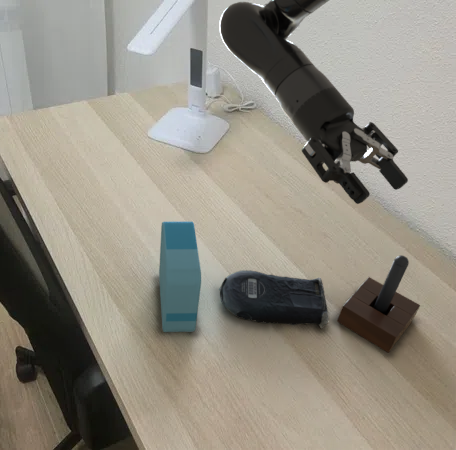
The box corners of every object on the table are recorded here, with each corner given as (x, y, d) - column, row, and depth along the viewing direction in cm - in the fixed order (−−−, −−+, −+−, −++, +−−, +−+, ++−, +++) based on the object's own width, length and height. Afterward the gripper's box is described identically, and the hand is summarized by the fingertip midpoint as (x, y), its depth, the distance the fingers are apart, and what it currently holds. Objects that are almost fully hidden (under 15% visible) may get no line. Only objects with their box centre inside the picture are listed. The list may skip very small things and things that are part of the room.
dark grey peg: (371, 314, 82) (399, 250, 73) (383, 321, 81) (412, 257, 72) (366, 321, 81) (393, 257, 72) (377, 328, 80) (407, 264, 71)
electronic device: (312, 289, 87) (219, 272, 86) (325, 269, 83) (228, 250, 82) (316, 341, 81) (217, 323, 80) (331, 322, 77) (226, 303, 76)
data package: (194, 336, 77) (202, 277, 70) (162, 337, 77) (166, 277, 69) (187, 275, 87) (193, 216, 79) (158, 275, 86) (161, 216, 79)
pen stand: (362, 292, 85) (368, 276, 83) (412, 320, 81) (420, 304, 79) (336, 321, 80) (342, 305, 78) (388, 353, 76) (396, 337, 74)
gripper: (293, 92, 73) (369, 187, 67) (359, 79, 80) (433, 164, 74) (265, 130, 79) (333, 221, 73) (330, 115, 86) (396, 196, 80)
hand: (383, 192), depth 74 cm, fingers open, 8 cm apart
